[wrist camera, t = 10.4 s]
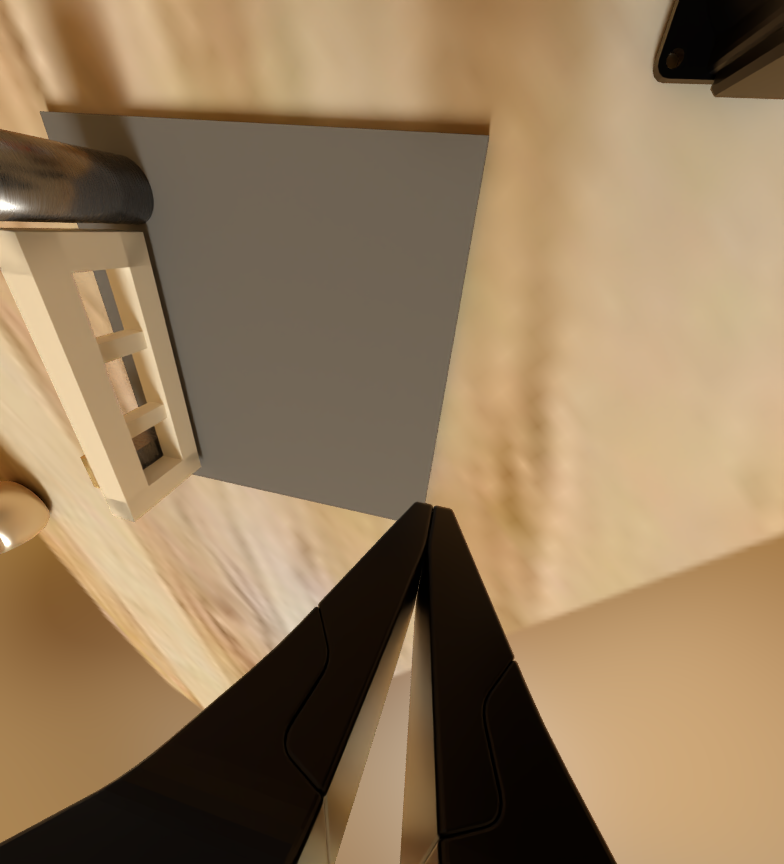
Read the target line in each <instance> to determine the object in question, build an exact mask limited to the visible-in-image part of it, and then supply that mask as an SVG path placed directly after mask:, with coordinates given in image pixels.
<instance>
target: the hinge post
mask: <svg viewBox="0 0 784 864" xmlns="http://www.w3.org/2000/svg"><path fill="white" fill-rule="evenodd" d="M153 209H154V198H153V192H152V189H151V186H150V183H149V181H148V179H147V177H146V176H145V174H144V173H143V171H142V170H141V169H140V167H139V166H138V165H137V164H136V163H135V162H133V161H132V160H131V159H129V158H127V157H126V156H123V155H118V154H114V153H109V152H105V151H100V150H95V149H91V148H86V147H81V146H77V145H72V144H67V143H63V142H58V141H53V140H49V139H44V138H39V137H35V136H30V135H25V134H21V133H16V132H12V131H7V130H2V129H0V221H21V222H62V223H104V224H143V223H145V222H147V221H148V220H149V219H150V217H151V216H152V213H153Z"/></svg>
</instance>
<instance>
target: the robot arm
mask: <svg viewBox="0 0 784 864" xmlns="http://www.w3.org/2000/svg"><path fill="white" fill-rule="evenodd" d="M671 53H675V54H677V55H678V58H679V60H678V64H677V66H676V68H674V69H670V68H668V67H667V65H666V61H667V57H668V55H669V54H671ZM653 74H654V78H655V79H656V80H657V81H658V82H661V83H681V84H712V86H711V89H710V90H711V91H712V93H713V95H714V97H731V98H760V99H784V0H675V3H674V6H673V9H672V12H671V15H670V18H669V21H668V24H667V27H666V30H665V33H664V36H663V39H662V42H661V45H660V48H659V51H658V54H657V57H656V60H655V63H654V68H653ZM432 511H433V512H432ZM420 576H421V577H420ZM419 581H420V582H419ZM418 587H419V588H418ZM417 592H418V593H417ZM416 597H417V600H416ZM415 601H416V608H415V621H414V638H413V655H412V672H411V689H410V705H409V722H408V738H407V755H406V772H405V788H404V805H403V822H402V838H401V855H400V864H617V863H616V861H615V859H614V857H613V855H612V853H611V852H610V850H609V848H608V846H607V844H606V842H605V840H604V838H603V837H602V835H601V833H600V831H599V829H598V827H597V825H596V823H595V821H594V820H593V818H592V816H591V814H590V812H589V810H588V808H587V806H586V804H585V802H584V800H583V799H582V797H581V795H580V793H579V791H578V789H577V787H576V785H575V783H574V782H573V780H572V778H571V776H570V774H569V772H568V770H567V768H566V766H565V764H564V762H563V760H562V759H561V756H560V755H559V753H558V750H557V748H556V746H555V744H554V743H553V741H552V739H551V737H550V735H549V733H548V731H547V729H546V727H545V725H544V722H543V720H542V718H541V716H540V714H539V711H538V709H537V707H536V705H535V703H534V700H533V698H532V696H531V694H530V692H529V689H528V687H527V685H526V682H525V680H524V678H523V675H522V673H521V670H520V668H519V666H518V663H517V662H516V661H513V660H514V654H513V652H512V650H511V647H510V645H509V643H508V640H507V638H506V635H505V633H504V631H503V628H502V626H501V624H500V621H499V619H498V617H497V614H496V612H495V609H494V607H493V605H492V602H491V600H490V598H489V595H488V593H487V590H486V588H485V586H484V583H483V581H482V579H481V576H480V574H479V572H478V569H477V567H476V564H475V562H474V560H473V557H472V555H471V553H470V550H469V548H468V545H467V543H466V541H465V538H464V536H463V534H462V531H461V529H460V527H459V524H458V522H457V519H456V517H455V515H454V512H453V511H452V509H450V508H446V507H441V506H434V508H433V506H432V505H431V504H427V503H422V502H415V503H413V504H412V505H411V507H410V508H409V509H408V510H407V511H406V512H405V513H404V514H403V515H402V516H401V517H400V518H399V519H398V520H397V521H396V522H395V523H394V524H393V526H392V527H391V528H390V529H389V530H388V531H387V532H386V533H385V534H384V535H383V536H382V537H381V538H380V539H379V540H378V541H377V542H376V544H375V545H374V546H373V547H372V548H371V549H370V550H369V551H368V552H367V553H366V554H365V555H364V556H363V557H362V558H361V559H360V560H359V561H358V563H357V564H356V565H355V566H354V567H353V568H352V569H351V570H350V571H349V572H348V573H347V574H346V575H345V576H344V577H343V578H342V579H341V581H340V582H339V583H338V584H337V585H336V586H335V587H334V588H333V589H332V590H331V591H330V592H329V593H328V594H327V595H326V596H325V597H324V598H323V600H322V601H321V602H320V603H319V604H318V607H315V608H314V609H313V610H312V611H311V612H310V613H309V614H308V615H307V616H306V617H305V618H304V619H303V620H302V621H301V623H300V624H299V625H298V626H297V627H296V628H295V629H294V630H293V631H292V632H291V633H290V634H288V635H287V636H286V637H285V638H284V639H283V640H282V641H281V642H280V643H279V644H278V645H277V646H276V647H275V648H274V649H273V650H272V651H271V652H270V653H269V654H267V655H266V656H265V657H264V658H263V659H262V660H261V661H260V662H259V663H257V664H256V665H255V666H254V667H253V668H252V669H251V670H250V671H249V672H247V673H246V674H245V675H244V676H243V677H242V678H240V679H239V680H238V681H237V682H236V683H235V684H233V685H232V686H231V687H230V688H229V689H228V690H226V691H225V692H224V693H223V694H222V695H220V696H219V697H218V698H217V699H216V700H215V701H213V702H212V703H211V704H210V705H209V706H208V707H206V708H205V709H204V710H203V711H202V712H201V713H199V714H198V715H197V716H196V717H195V718H194V719H192V720H191V721H190V722H189V723H188V724H187V725H185V726H184V727H183V728H182V729H181V730H180V731H179V732H178V733H176V734H175V735H174V736H173V737H172V738H170V739H169V740H168V741H167V742H165V743H164V744H163V745H162V746H161V747H159V748H158V749H157V750H156V751H155V752H153V753H152V754H151V755H150V756H148V757H147V758H146V759H144V760H143V761H142V762H140V763H139V764H138V765H136V766H135V767H134V768H132V769H131V770H129V771H128V772H126V773H125V774H123V775H122V776H120V777H119V778H117V779H116V780H114V781H113V782H111V783H109V784H108V785H106V786H104V787H103V788H101V789H100V790H98V791H96V792H94V793H93V794H91V795H89V796H87V797H85V798H83V799H82V800H80V801H78V802H76V803H74V804H72V805H70V806H68V807H67V808H65V809H63V810H61V811H59V812H57V813H56V814H54V815H52V816H50V817H48V818H46V819H44V820H42V821H41V822H39V823H37V824H35V825H33V826H31V827H30V828H28V829H26V830H24V831H22V832H20V833H18V834H16V835H15V836H13V837H11V838H9V839H7V840H5V841H3V842H1V843H0V864H335V861H336V857H337V854H338V851H339V848H340V844H341V841H342V838H343V835H344V831H345V828H346V825H347V822H348V818H349V815H350V812H351V809H352V806H353V803H354V799H355V796H356V793H357V790H358V787H359V783H360V780H361V777H362V774H363V770H364V767H365V764H366V761H367V758H368V754H369V751H370V748H371V744H372V742H373V738H374V735H375V732H376V729H377V725H378V722H379V719H380V716H381V713H382V709H383V706H384V703H385V700H386V696H387V693H388V690H389V687H390V683H391V680H392V677H393V674H394V671H395V668H396V664H397V661H398V658H399V655H400V651H401V648H402V645H403V642H404V639H405V635H406V632H407V629H408V626H409V622H410V619H411V616H412V613H413V609H414V605H415Z"/></svg>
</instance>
